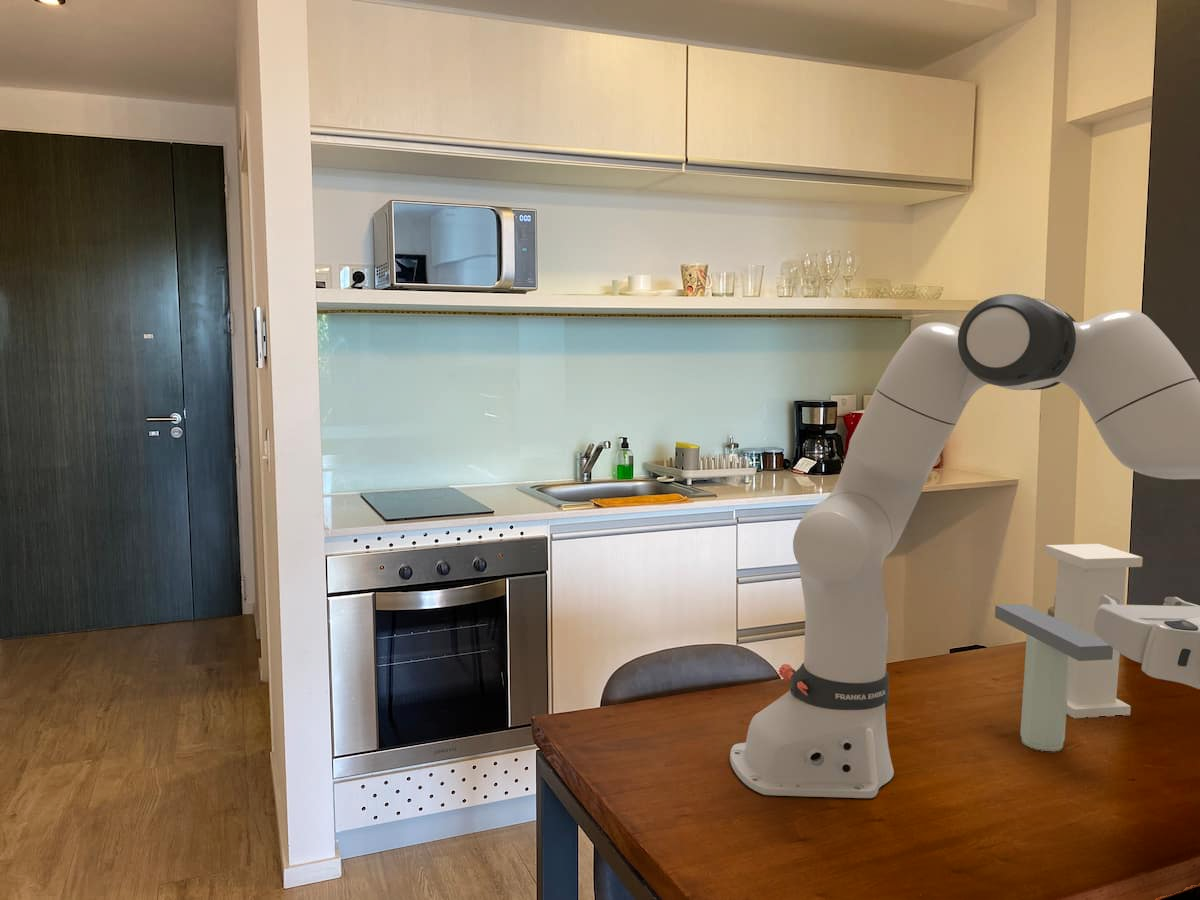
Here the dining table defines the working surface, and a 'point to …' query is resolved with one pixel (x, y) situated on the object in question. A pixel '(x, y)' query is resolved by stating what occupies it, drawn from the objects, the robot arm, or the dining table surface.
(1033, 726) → the jar
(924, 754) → the dining table surface
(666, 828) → the dining table surface
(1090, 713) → the stand
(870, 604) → the robot arm
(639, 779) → the dining table surface
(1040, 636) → the cover
